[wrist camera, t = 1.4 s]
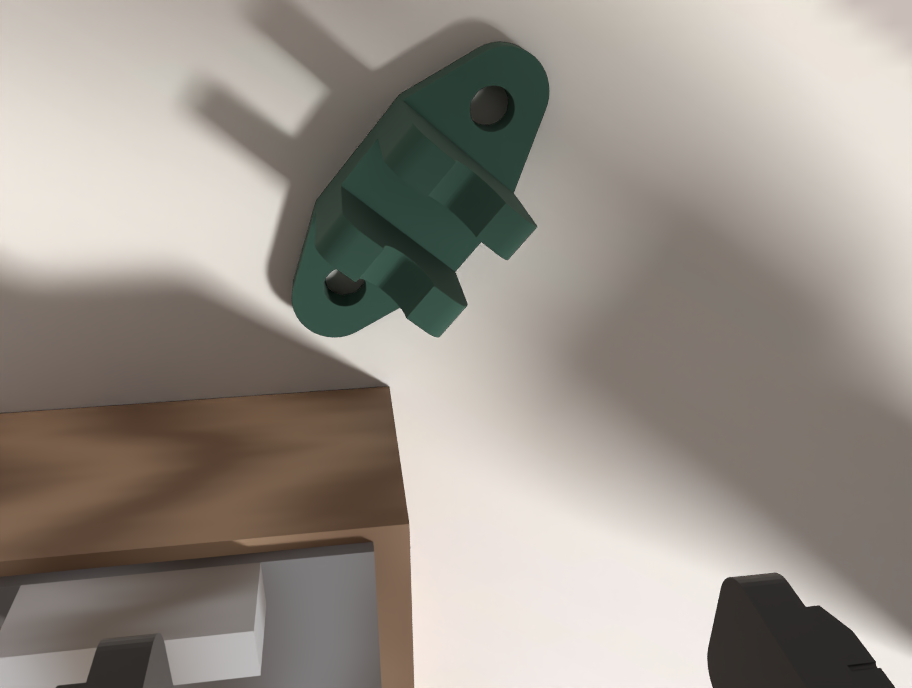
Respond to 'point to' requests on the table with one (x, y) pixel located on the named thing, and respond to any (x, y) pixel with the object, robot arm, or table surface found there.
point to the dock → (209, 540)
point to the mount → (423, 198)
